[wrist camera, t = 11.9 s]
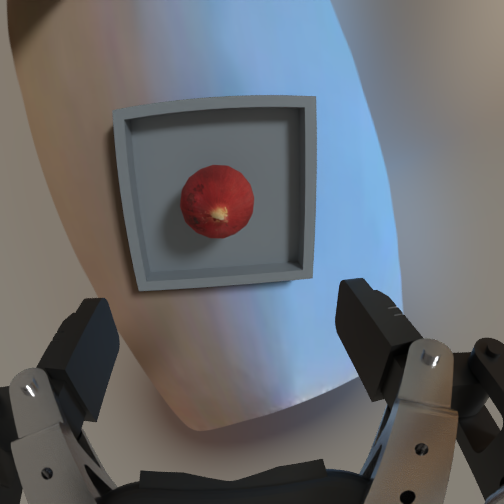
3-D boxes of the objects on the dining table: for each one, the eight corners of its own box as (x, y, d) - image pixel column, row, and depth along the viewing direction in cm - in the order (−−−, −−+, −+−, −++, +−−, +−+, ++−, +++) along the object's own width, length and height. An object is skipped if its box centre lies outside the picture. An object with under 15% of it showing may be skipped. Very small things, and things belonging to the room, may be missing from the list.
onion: (196, 230, 28) (191, 267, 21) (176, 172, 26) (160, 191, 19) (256, 211, 28) (270, 242, 21) (238, 152, 26) (247, 162, 19)
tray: (122, 111, 24) (112, 110, 21) (306, 99, 25) (315, 96, 23) (144, 276, 31) (138, 291, 28) (304, 264, 32) (312, 278, 30)
